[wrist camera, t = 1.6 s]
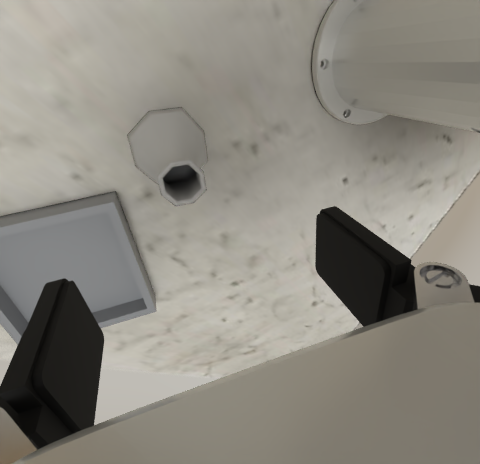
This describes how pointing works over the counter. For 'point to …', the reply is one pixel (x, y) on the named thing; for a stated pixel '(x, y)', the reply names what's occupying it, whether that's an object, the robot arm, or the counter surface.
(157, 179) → the flask
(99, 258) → the tray
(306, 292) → the counter surface
